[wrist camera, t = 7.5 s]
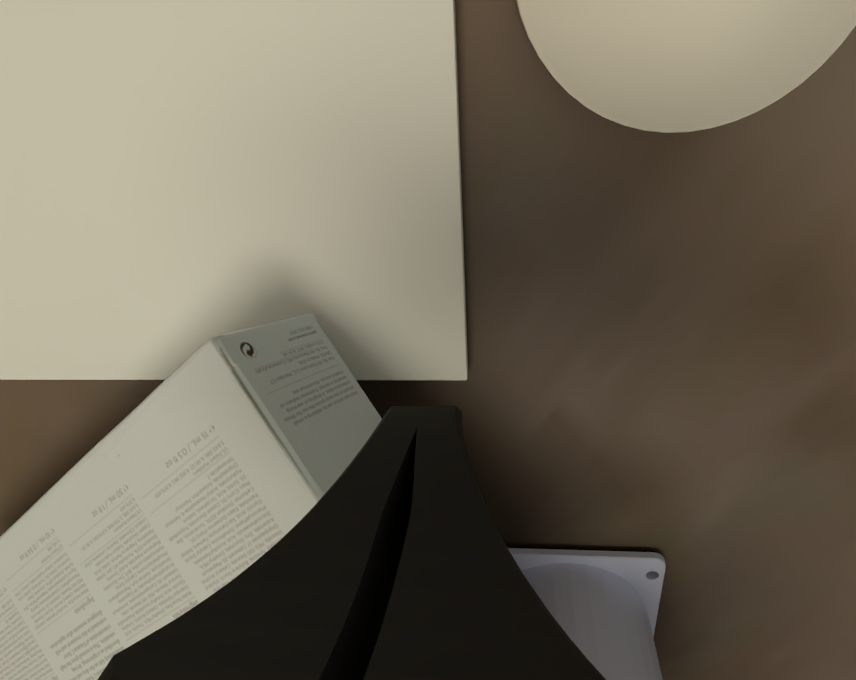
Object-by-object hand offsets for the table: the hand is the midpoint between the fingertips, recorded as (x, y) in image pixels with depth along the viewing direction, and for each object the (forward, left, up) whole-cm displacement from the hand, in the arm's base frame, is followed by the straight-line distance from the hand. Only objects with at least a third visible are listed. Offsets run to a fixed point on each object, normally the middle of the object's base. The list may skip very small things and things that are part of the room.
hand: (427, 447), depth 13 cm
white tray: (+4, +11, -10) cm, 16 cm away
